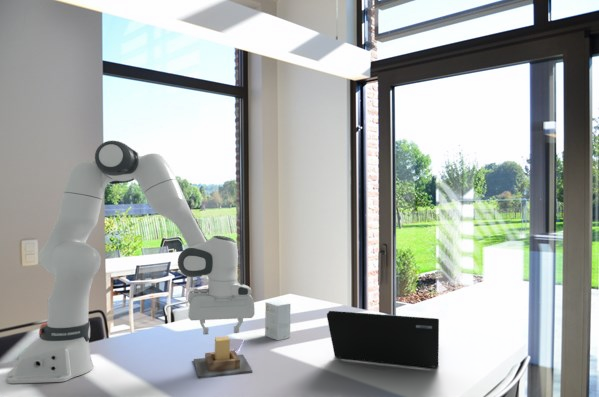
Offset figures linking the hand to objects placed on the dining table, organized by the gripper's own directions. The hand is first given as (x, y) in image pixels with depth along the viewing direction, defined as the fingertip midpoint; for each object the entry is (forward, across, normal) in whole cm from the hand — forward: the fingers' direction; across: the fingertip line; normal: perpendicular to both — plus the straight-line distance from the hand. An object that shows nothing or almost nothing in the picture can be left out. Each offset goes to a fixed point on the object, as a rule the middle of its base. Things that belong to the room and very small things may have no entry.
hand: (221, 333), depth 142 cm
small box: (+10, +25, +27) cm, 38 cm away
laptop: (+10, +54, -6) cm, 55 cm away
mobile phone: (+11, +6, +20) cm, 24 cm away
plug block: (+10, +1, +1) cm, 10 cm away
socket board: (+11, +1, +1) cm, 11 cm away
